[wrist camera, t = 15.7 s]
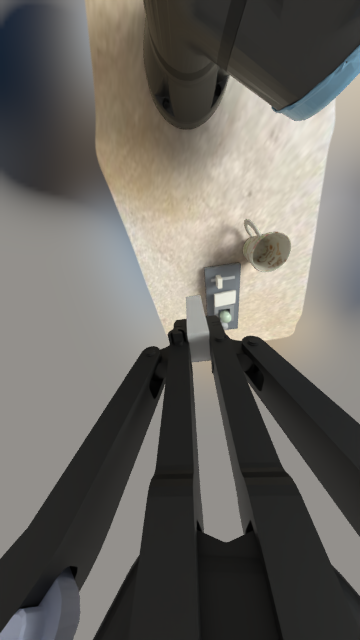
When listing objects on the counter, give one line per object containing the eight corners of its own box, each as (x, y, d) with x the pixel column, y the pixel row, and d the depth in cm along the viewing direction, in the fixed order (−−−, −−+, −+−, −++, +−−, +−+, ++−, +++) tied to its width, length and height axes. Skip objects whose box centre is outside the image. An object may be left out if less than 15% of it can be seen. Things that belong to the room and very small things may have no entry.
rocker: (213, 293, 46) (214, 295, 45) (234, 289, 46) (235, 290, 45) (214, 306, 48) (215, 307, 47) (234, 301, 48) (235, 303, 47)
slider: (215, 275, 44) (217, 279, 41) (219, 274, 44) (222, 278, 41) (215, 284, 46) (218, 288, 43) (219, 284, 46) (222, 288, 43)
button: (219, 310, 49) (221, 315, 46) (229, 309, 48) (231, 314, 46) (219, 318, 50) (221, 323, 48) (228, 317, 50) (231, 322, 47)
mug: (247, 269, 46) (262, 279, 37) (224, 233, 41) (234, 235, 33) (274, 249, 43) (297, 255, 34) (252, 208, 38) (272, 202, 30)
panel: (204, 267, 46) (205, 270, 42) (238, 262, 45) (242, 265, 42) (208, 328, 57) (209, 334, 54) (235, 325, 56) (239, 331, 53)
